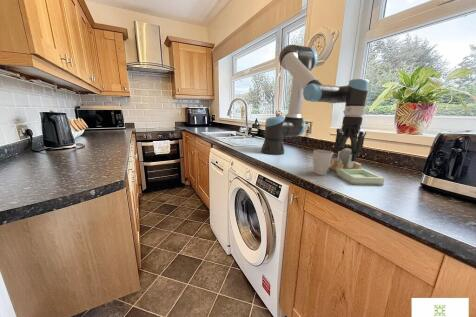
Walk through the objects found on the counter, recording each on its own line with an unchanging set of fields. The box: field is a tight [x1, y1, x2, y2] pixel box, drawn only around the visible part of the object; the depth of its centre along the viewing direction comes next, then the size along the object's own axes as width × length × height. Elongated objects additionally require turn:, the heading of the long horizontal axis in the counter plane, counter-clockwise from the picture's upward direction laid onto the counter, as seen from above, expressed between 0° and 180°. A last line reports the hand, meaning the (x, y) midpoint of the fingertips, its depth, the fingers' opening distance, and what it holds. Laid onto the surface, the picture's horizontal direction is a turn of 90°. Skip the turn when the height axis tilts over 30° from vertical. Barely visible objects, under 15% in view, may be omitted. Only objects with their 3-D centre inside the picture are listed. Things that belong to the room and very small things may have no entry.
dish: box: [336, 168, 386, 186], centre depth 80 cm, size 12×12×3 cm
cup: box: [312, 149, 335, 176], centre depth 86 cm, size 8×8×10 cm
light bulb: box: [340, 147, 352, 169], centre depth 92 cm, size 6×6×10 cm
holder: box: [330, 158, 362, 173], centre depth 92 cm, size 9×9×4 cm
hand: (344, 165), depth 93 cm, fingers closed on light bulb, 5 cm apart
